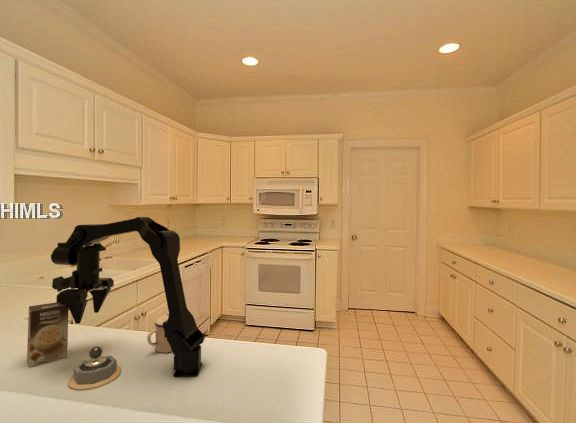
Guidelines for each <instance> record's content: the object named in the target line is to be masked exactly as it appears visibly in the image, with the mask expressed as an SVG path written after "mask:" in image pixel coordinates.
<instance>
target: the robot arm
mask: <svg viewBox="0 0 576 423" xmlns="http://www.w3.org/2000/svg"><path fill="white" fill-rule="evenodd" d="M134 232H135V233H138V234H139V236H140V238H141V240H142V241H143V242H145V243H146V244H147V245H148V247H149V249H150V252H151V255H152V257H153V258H154V259H155V260H156V261H157V263H158V264H159V267H160V273H161V279H162V283H163V289H164V294H165V299H166V303H167V310H168V311H169V317H168V320H167V321H165V322H163V329H164V332H165V336H164V338H166V337H167V341H168V343H169V344H170V346H171V349H172V352H171V353H172V355H174V356H173V371H174V373H173V377H177V378H178V377H197V376H198V375H199V373H200V371H201V368H202V366H203V362H202V345H201V344H203V343H204V342H205V338H206V336H205V334H204V333H203V332H202V331H201V330H200V329H199V328H198V325H197V322H196V320H195V317H194V315H193V314H192V313H191V311H190V310H189V309H188V307H187V301H186V297H185V293H184V288H183V286H184V285H183V282H182V277H181V273H180V272H181V271H180V267H179V266H180V265H179V255H180V251H181V240H180V239H181V238H180V235H179V233H178V232H176V231H175V230H170V229H169V228H167V227H166V226H164V225H162V224H160V223H159V222H156V221H155V220H154V219H152V218H150V216H137V217H134V218H129V219H126V220H125V219H124V220H120V221H115V222H110V223H109V222H108V223H93V224H78V225H75V227H74V229H73V231H72V233H71V234H70V236H69V237H68V239H67V240H66V242H65V241H64V242H57V246H56V247H55V248H54V249H53V250H52V252H51V254H50V260H51V262H52V263H53V264H54V265H57V266H58V265H60V266H61V265H62V266H76V269H75V270H73V271H72V272H71V276H67V277H64V276H62V275H61V276H58V277H55V278H52V282H51V283H52V284H51V285H52V286H51V288H52V289H54V290H57V295H56V297H55V299H56V301H55V302H57V303H60V304H61V305H65V306H67V307H68V308H69V310H68V311H70V312H69V313H70V314H71V316H72V319H73V321H74V323H75V324H77V325H79V324H81V322H82V320H83V316H84V313H85V310H86V307H87V304H88V302H89V301H88V299H87V298H88V294H90V295H91V296H92V305H93V306H92V307H93V312H94V314H98V313H99V312H100V310H101V308H102V306H103V304H104V302H105V300H106V298H107V297H108V294H109V293H110V291H111V290H112V288H113V287H114V286H115V283H114V279H113V278H111V277H100V273H101V272H103V267H100V252H103V251H106V250H107V248H106V247H105V246H103V245H102V243H101V242H103V241H105V240H107V239H108V238H110V237H113V236H114V237H115V236H118V235H123V234H129V233H134ZM168 311H167V312H168Z"/></svg>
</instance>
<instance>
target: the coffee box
mask: <svg viewBox="0 0 576 423" xmlns="http://www.w3.org/2000/svg"><path fill="white" fill-rule="evenodd" d="M69 311H70V310H69V308H68V307H67V306H65V305H61V304H60V303H57V302H56V301H55V302H49V303H44V304H43V303H42V304H36V305H29V306H28V318H27V319H28V321H27V322H28V323H27V347H26V348H27V351H26V352H27V354H26V355H27V357H26V361H27V366H28V367H29V368H32V367H35V366H40V365H43V364H47V363H50V362H54V361H59V360H62V359H67V358H68V346H69V345H68V344H69V340H68V338H69Z"/></svg>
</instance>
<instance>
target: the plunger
mask: <svg viewBox="0 0 576 423" xmlns="http://www.w3.org/2000/svg"><path fill="white" fill-rule="evenodd" d="M102 354H103V348H102V347H101V346H97V345H95V346H94V347H92V348H91V349H90V350H89V352H88V355H89V357H90V358H87V359H88V360H87V359H85V360H86V361H85V367H93V371H94V370H97V369H98V366H99V365H102V364H104V363H105V362H106V361H107V357H106V356H107V355H102Z"/></svg>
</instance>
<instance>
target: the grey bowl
mask: <svg viewBox="0 0 576 423" xmlns="http://www.w3.org/2000/svg"><path fill="white" fill-rule="evenodd" d="M105 356H106V357H107V361H106V362H105V363H104V364H102V365H99V366H98V369H97V370H94V371H93V367H85V361H86V360H88V359H89V358H87V359H84V360H82V361H81V362H79V363H78V364H77V365H75V366H74V367H73V374H72V375H71V376H70V377H69V379H68V380H67V386H68V388H69V389H70V390H75V391H89V390H94V389H97V388H100V387H103V386H106V385H109V384H110V383H111V382H113V381H115V380H117V379H118V378H119V377H120V376H121V374H122V368H121V366H120V365H118V363H117V362H118V360H117V359H116V358H115V357H114V356H112V355H105Z"/></svg>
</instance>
